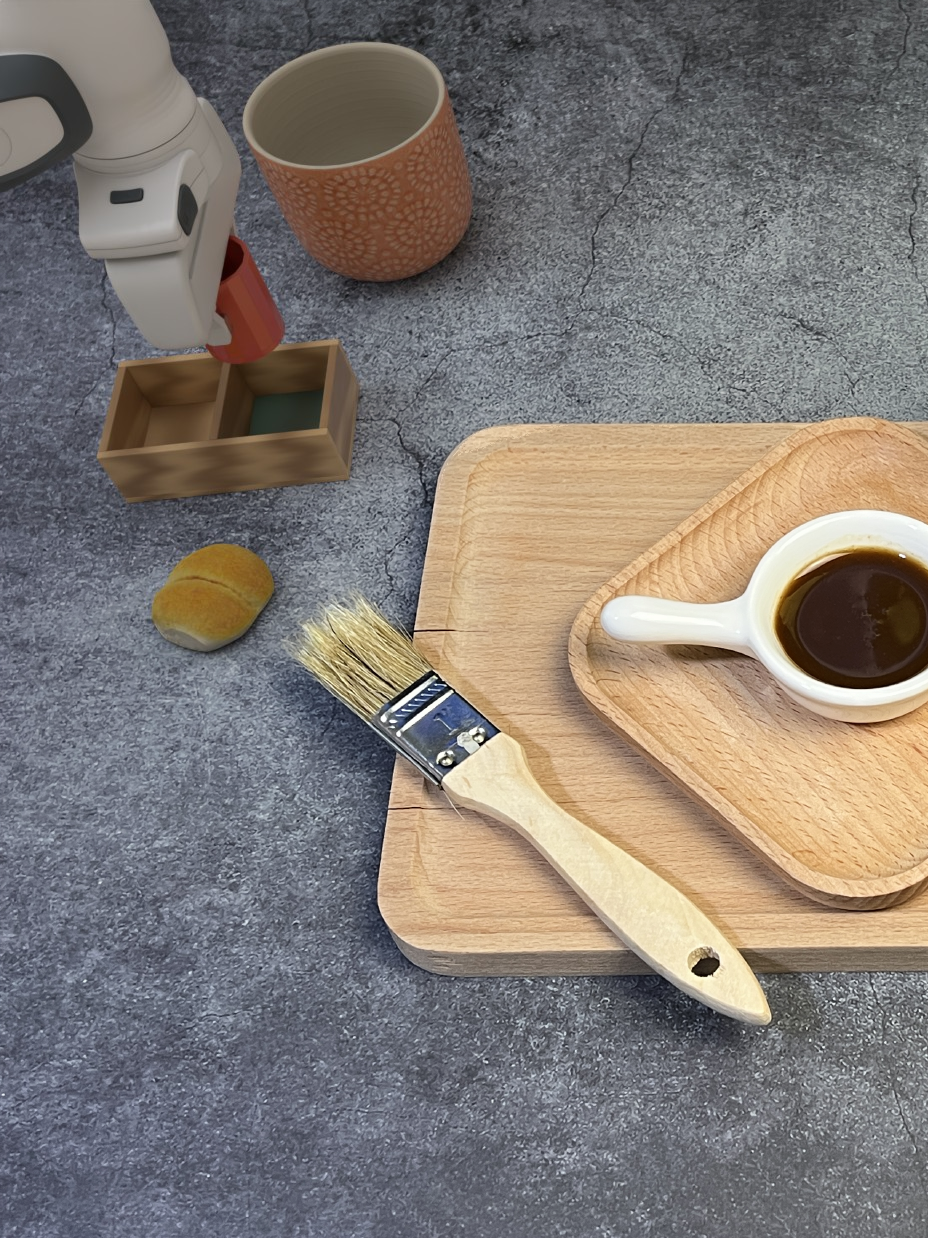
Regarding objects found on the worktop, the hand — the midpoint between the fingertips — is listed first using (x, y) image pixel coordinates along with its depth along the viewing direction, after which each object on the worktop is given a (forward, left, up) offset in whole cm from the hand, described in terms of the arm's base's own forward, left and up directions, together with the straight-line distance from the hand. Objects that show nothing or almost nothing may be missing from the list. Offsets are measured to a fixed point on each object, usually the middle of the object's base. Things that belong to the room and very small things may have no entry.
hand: (228, 304), depth 113 cm
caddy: (-4, 0, -15) cm, 16 cm away
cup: (0, 0, -3) cm, 3 cm away
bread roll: (-4, -17, -16) cm, 23 cm away
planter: (+7, +23, -15) cm, 29 cm away
